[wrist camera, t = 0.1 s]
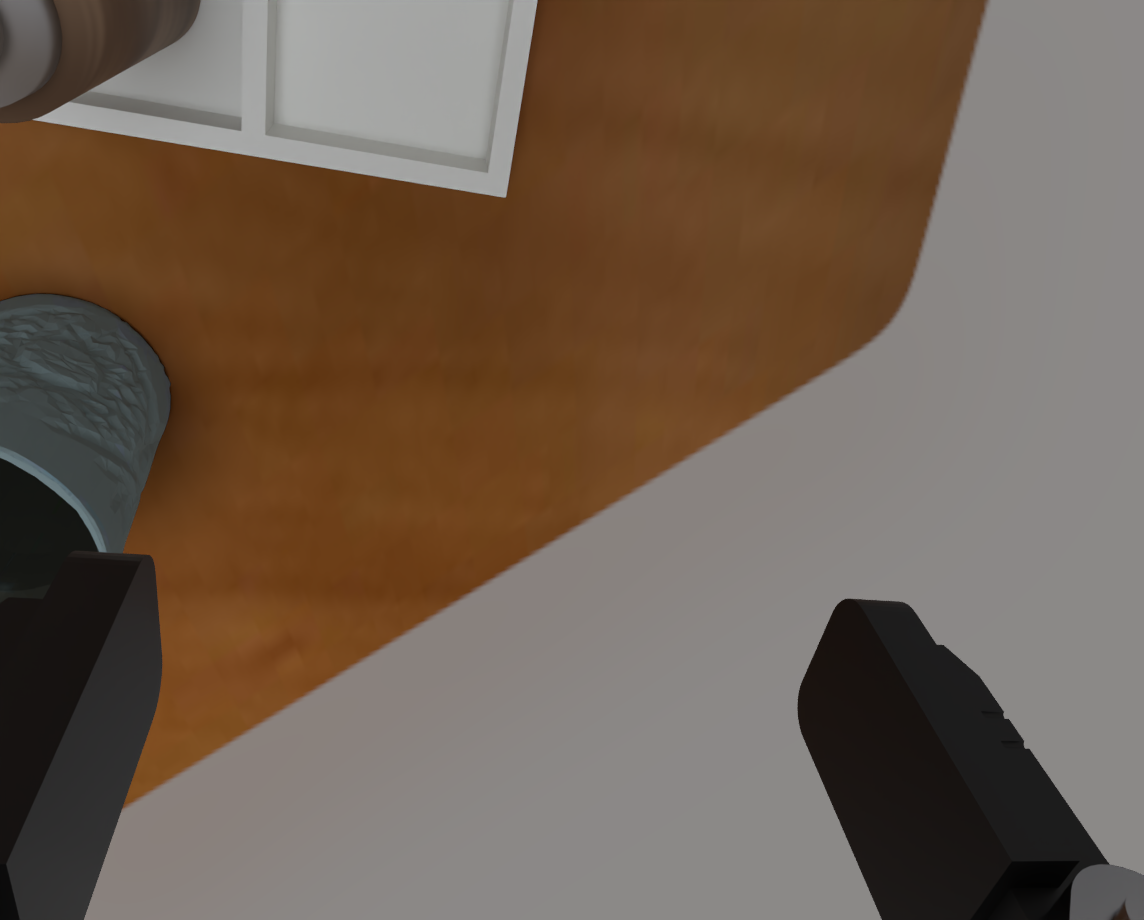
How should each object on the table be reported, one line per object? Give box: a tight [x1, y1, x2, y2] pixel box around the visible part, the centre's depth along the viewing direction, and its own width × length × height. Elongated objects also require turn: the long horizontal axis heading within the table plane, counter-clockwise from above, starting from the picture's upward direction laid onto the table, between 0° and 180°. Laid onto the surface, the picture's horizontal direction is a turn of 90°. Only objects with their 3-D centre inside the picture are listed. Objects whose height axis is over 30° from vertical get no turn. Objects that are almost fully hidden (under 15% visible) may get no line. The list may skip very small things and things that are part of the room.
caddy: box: [33, 0, 538, 198], centre depth 31 cm, size 10×18×3 cm, turn 79°
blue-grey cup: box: [0, 294, 171, 603], centre depth 34 cm, size 10×10×12 cm
